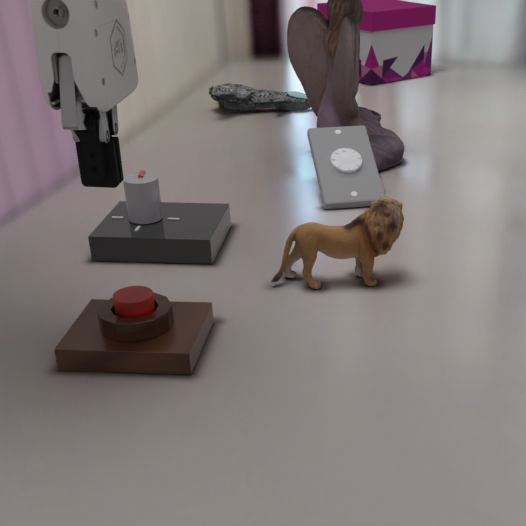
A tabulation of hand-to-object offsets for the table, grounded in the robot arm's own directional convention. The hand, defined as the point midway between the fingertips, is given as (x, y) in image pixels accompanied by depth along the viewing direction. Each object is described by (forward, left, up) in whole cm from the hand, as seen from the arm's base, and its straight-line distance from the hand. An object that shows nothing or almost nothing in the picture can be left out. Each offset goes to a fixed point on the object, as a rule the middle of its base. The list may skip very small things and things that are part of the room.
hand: (103, 183), depth 69 cm
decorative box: (+21, +128, -15) cm, 131 cm away
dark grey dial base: (-2, +23, -15) cm, 28 cm away
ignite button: (+2, -2, -11) cm, 12 cm away
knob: (-4, +23, -12) cm, 26 cm away
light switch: (+19, +43, -15) cm, 49 cm away
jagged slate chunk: (0, +90, -15) cm, 91 cm away
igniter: (+2, -2, -15) cm, 15 cm away
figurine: (+19, +59, -15) cm, 64 cm away
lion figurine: (+20, +14, -15) cm, 29 cm away
